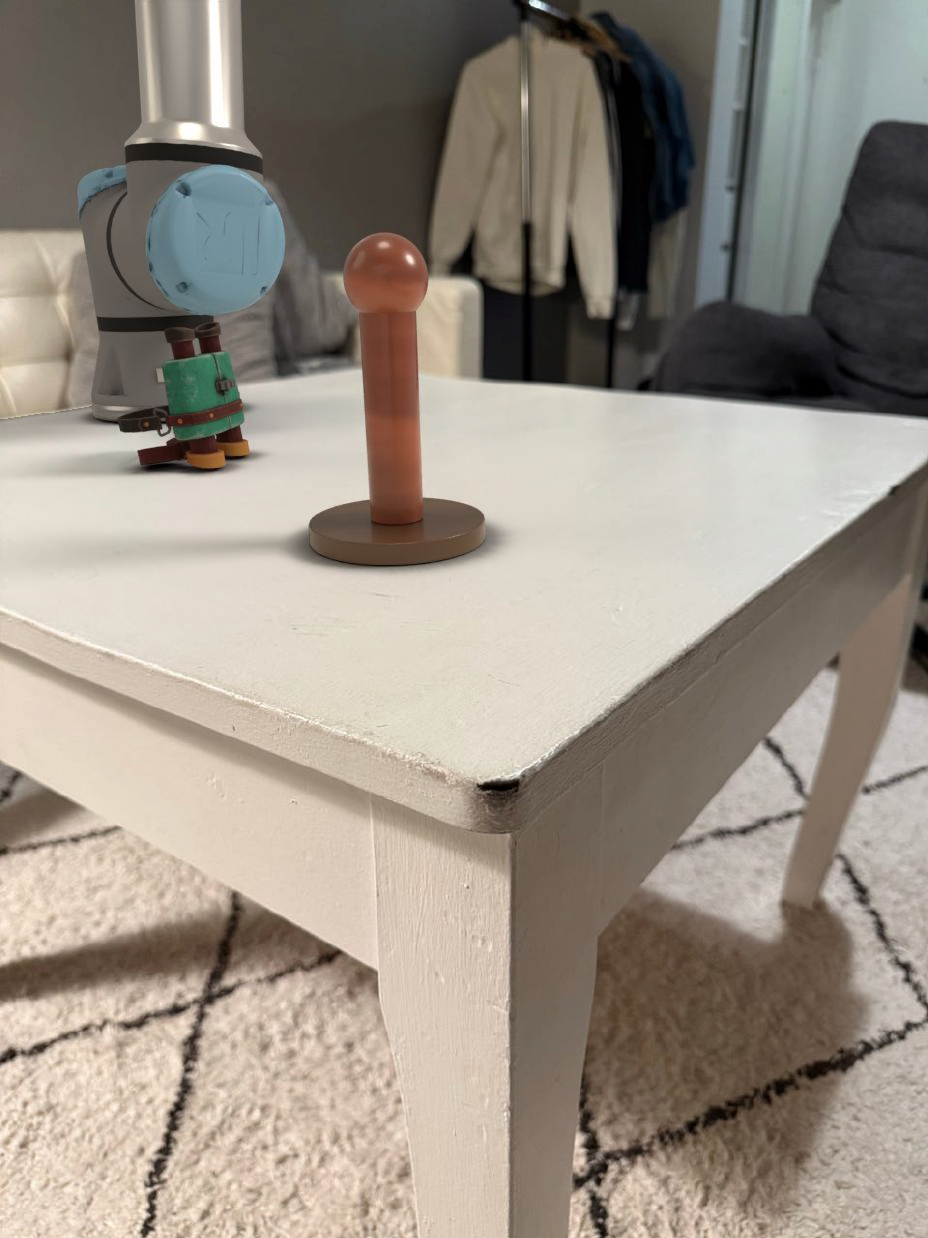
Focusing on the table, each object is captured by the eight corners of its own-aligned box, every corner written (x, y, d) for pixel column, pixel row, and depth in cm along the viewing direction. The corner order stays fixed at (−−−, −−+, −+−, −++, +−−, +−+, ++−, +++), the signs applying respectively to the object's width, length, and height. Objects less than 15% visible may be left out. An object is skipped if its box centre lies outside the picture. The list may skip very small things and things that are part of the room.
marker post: (301, 523, 56) (276, 236, 50) (459, 509, 58) (453, 233, 52) (321, 574, 47) (294, 230, 41) (507, 554, 49) (507, 227, 43)
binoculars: (134, 331, 75) (245, 317, 73) (164, 458, 79) (270, 448, 77) (70, 340, 67) (192, 325, 65) (106, 481, 71) (223, 471, 69)
